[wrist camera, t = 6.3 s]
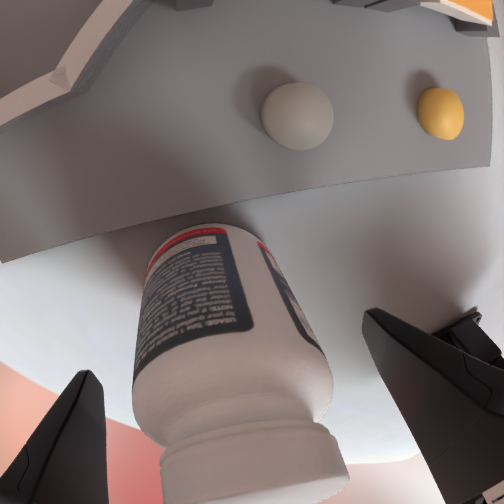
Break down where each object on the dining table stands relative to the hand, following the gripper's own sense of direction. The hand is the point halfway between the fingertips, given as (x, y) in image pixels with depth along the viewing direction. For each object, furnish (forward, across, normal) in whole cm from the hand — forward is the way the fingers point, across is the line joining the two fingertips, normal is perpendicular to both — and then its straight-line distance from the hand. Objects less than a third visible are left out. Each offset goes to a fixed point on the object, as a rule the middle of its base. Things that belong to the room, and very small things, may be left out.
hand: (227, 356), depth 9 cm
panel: (+4, -3, -11) cm, 12 cm away
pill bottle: (+4, 0, 0) cm, 4 cm away
